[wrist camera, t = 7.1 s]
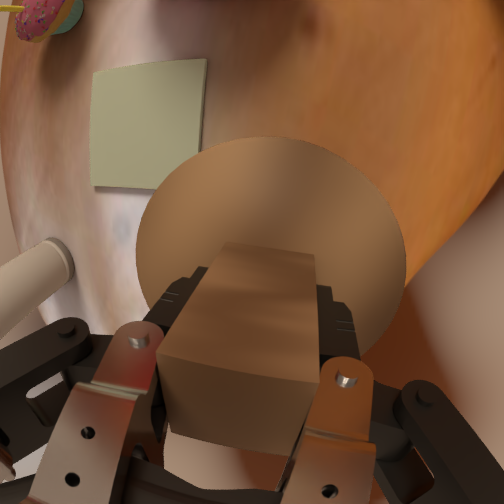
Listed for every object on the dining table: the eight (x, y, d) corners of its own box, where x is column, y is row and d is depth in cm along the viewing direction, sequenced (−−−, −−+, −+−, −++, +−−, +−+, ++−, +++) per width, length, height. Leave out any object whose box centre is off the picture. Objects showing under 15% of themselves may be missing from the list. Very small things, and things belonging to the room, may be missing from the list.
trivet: (207, 60, 21) (205, 58, 20) (198, 191, 26) (196, 192, 25) (96, 73, 22) (93, 72, 22) (93, 184, 27) (90, 185, 27)
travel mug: (40, 230, 31) (-76, 305, 13) (73, 244, 31) (-51, 337, 13) (43, 271, 34) (-55, 351, 15) (76, 287, 33) (-26, 384, 15)
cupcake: (45, 58, 22) (-33, 54, 11) (47, 6, 19) (-22, -7, 8) (97, 26, 20) (15, 3, 9) (98, -27, 17) (30, -58, 6)
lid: (426, 165, 9) (554, 221, 3) (357, 379, 14) (367, 498, 7) (145, 129, 11) (0, 151, 4) (156, 345, 15) (95, 444, 9)
